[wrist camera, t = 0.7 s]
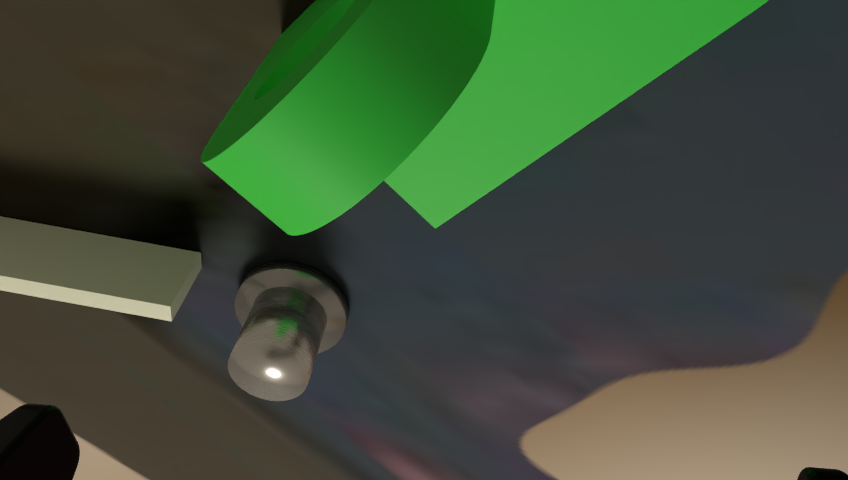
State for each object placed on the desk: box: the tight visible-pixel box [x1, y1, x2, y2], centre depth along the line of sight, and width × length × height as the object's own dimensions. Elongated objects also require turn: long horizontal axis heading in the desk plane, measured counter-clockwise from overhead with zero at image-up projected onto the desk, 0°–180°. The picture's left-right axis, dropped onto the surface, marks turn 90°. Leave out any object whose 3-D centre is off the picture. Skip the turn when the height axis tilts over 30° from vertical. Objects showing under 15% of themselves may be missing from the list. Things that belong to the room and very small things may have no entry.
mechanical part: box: [201, 0, 768, 236], centre depth 14 cm, size 12×6×8 cm, turn 133°
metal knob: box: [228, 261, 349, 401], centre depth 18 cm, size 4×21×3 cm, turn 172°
